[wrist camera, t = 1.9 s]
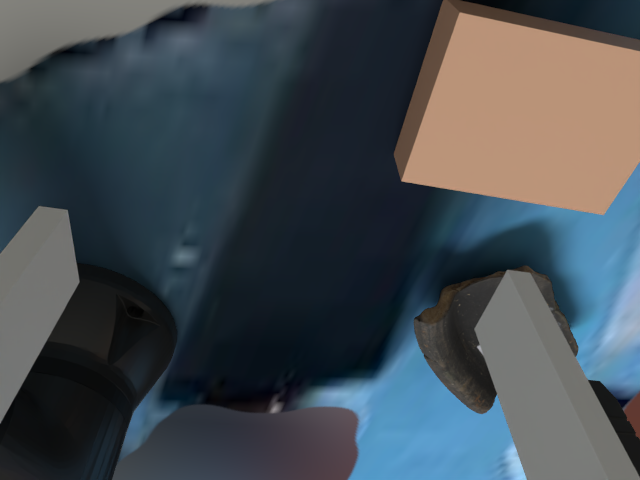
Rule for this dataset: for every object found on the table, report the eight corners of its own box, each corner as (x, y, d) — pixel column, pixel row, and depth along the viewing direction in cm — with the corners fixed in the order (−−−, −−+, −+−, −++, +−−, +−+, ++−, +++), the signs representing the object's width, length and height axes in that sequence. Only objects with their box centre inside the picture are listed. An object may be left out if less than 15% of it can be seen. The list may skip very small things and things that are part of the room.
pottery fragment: (579, 349, 44) (596, 391, 41) (455, 379, 49) (461, 419, 46) (535, 243, 36) (552, 285, 33) (391, 291, 41) (394, 332, 38)
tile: (393, 151, 33) (401, 181, 30) (442, -5, 27) (459, 12, 24) (577, 183, 35) (603, 214, 32) (662, 43, 29) (704, 65, 26)
